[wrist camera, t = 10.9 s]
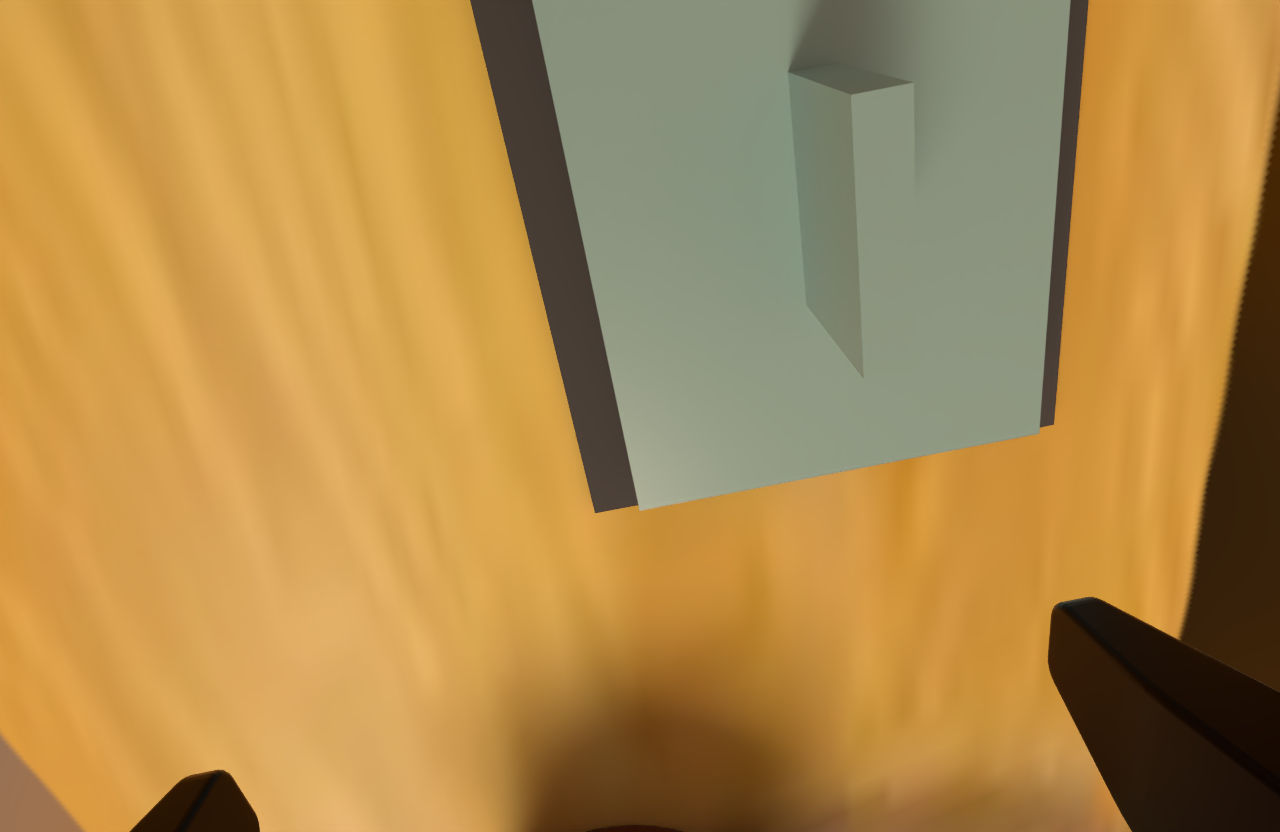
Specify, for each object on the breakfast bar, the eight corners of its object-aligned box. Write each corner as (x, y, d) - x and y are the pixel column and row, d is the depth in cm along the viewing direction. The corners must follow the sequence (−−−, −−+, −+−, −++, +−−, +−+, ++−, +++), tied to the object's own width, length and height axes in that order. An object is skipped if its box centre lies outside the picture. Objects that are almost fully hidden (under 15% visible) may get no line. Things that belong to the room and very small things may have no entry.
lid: (1008, 405, 22) (1137, 524, 17) (634, 477, 22) (655, 617, 17) (1042, -259, 15) (1270, -378, 10) (502, -152, 15) (474, -220, 10)
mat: (1046, 417, 23) (1053, 424, 22) (594, 505, 23) (595, 513, 23) (1102, -313, 15) (1114, -320, 15) (428, -180, 15) (425, -183, 15)
